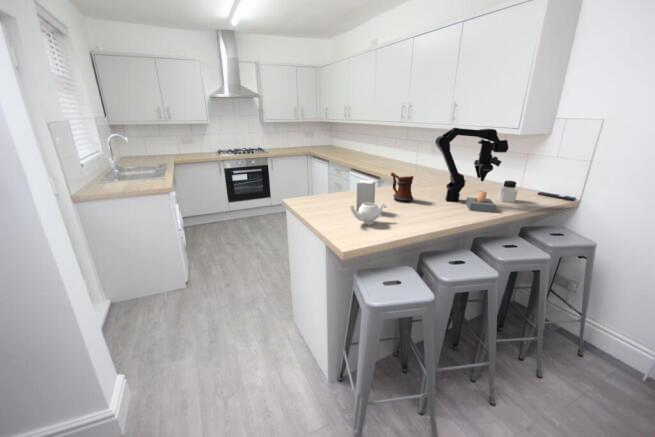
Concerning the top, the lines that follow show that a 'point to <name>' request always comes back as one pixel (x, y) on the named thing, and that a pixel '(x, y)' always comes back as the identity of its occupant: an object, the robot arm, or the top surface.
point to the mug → (403, 188)
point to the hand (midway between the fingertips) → (480, 179)
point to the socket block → (480, 205)
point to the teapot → (368, 212)
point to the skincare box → (365, 192)
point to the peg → (481, 196)
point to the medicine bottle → (508, 192)
